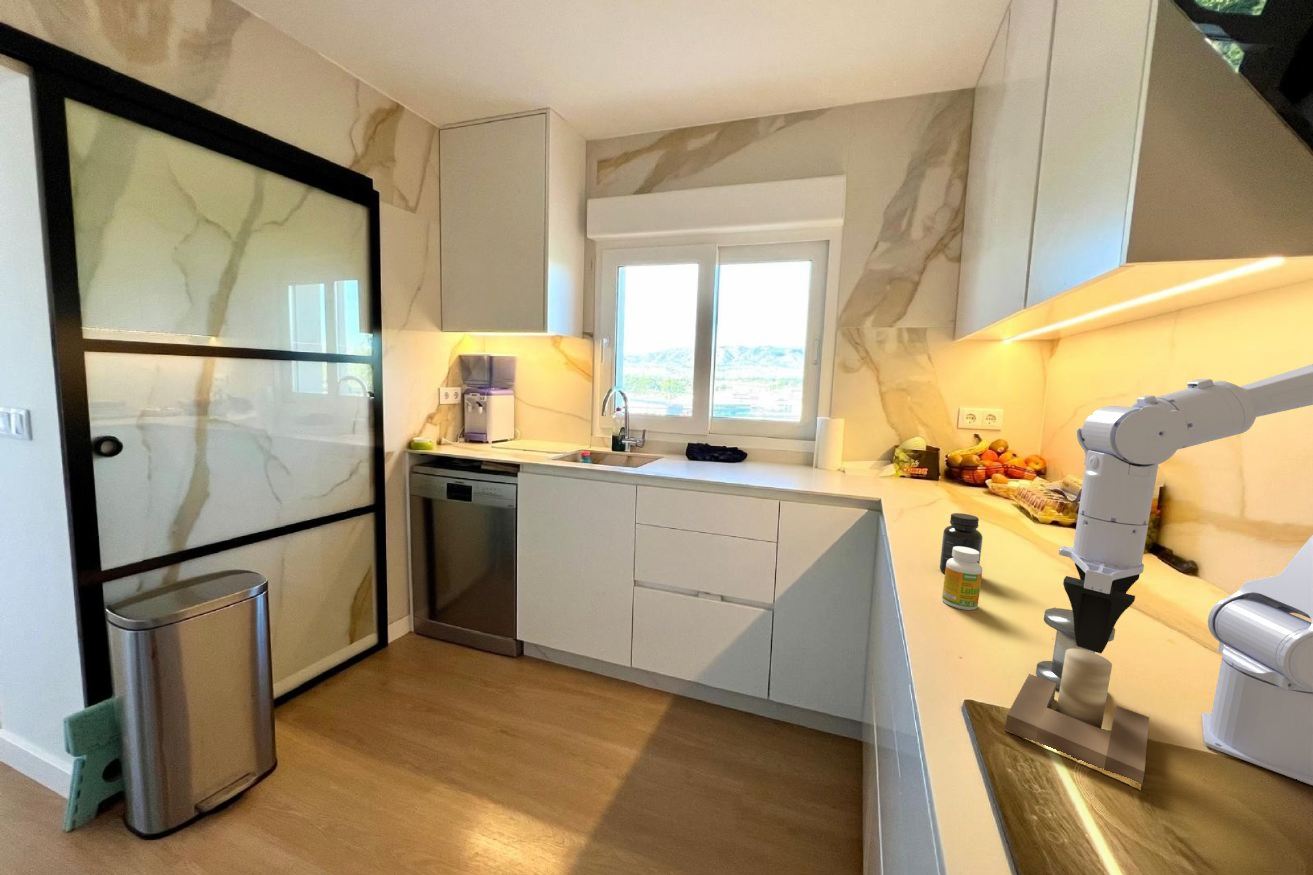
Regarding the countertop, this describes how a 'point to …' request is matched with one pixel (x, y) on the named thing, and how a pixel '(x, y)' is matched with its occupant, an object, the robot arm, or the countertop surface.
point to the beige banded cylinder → (1084, 686)
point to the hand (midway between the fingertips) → (1093, 637)
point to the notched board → (1080, 731)
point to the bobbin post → (1060, 644)
